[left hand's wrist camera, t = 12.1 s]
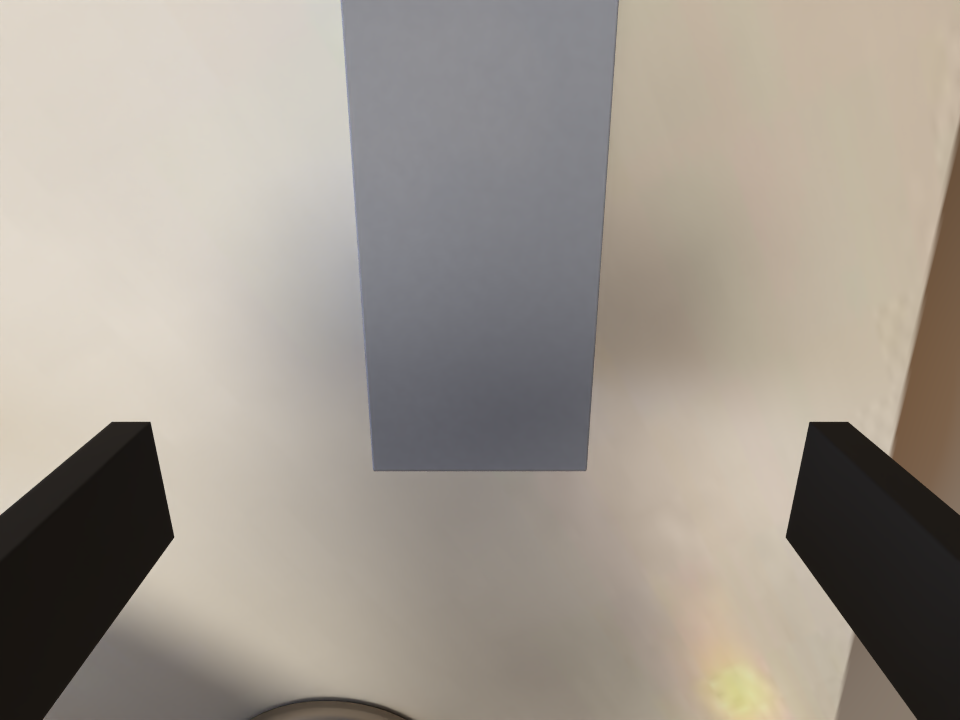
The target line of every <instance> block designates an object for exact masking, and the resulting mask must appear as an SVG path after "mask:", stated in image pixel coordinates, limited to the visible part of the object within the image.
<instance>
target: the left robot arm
mask: <svg viewBox="0 0 960 720" xmlns="http://www.w3.org/2000/svg"><path fill="white" fill-rule="evenodd" d="M173 538H174V533H173V529H172V524H171V519H170V514H169V509H168V504H167V500H166V495H165V490H164V485H163V480H162V475H161V471H160V466H159V461H158V456H157V451H156V446H155V442H154V437H153V432H152V427H151V422H111V423H110V424H109V425H108V426H107V427H105V428H104V429H103V430H102V431H101V432H99V433H98V434H97V435H96V436H95V437H93V438H92V439H91V440H90V441H89V442H87V443H86V444H85V445H84V446H83V447H81V448H80V449H79V450H78V451H77V452H75V453H74V454H73V455H72V456H71V457H69V458H68V459H67V460H66V461H65V462H63V463H62V464H61V465H60V466H59V467H57V468H56V469H55V470H54V471H53V472H52V473H50V474H49V475H48V476H47V477H46V478H44V479H43V480H42V481H41V482H40V483H38V484H37V485H36V486H35V487H34V488H32V489H31V490H30V491H29V492H28V493H26V494H25V495H24V496H23V497H22V498H20V499H19V500H18V501H17V502H16V503H14V504H13V505H12V506H11V507H10V508H8V509H7V510H6V511H5V512H4V513H2V514H1V515H0V720H43V718H44V717H45V716H46V714H47V713H48V711H49V710H50V709H51V707H52V706H53V704H54V703H55V702H56V700H57V699H58V698H59V696H60V695H61V693H62V692H63V691H64V689H65V688H66V686H67V685H68V684H69V682H70V681H71V680H72V678H73V677H74V675H75V674H76V673H77V671H78V670H79V668H80V667H81V666H82V664H83V663H84V662H85V660H86V659H87V657H88V656H89V655H90V653H91V652H92V651H93V649H94V648H95V646H96V645H97V644H98V642H99V641H100V639H101V638H102V637H103V635H104V634H105V633H106V631H107V630H108V628H109V627H110V626H111V624H112V623H113V621H114V620H115V619H116V617H117V616H118V615H119V613H120V612H121V610H122V609H123V608H124V606H125V605H126V603H127V602H128V601H129V599H130V598H131V597H132V595H133V594H134V592H135V591H136V590H137V588H138V587H139V585H140V584H141V583H142V581H143V580H144V579H145V577H146V576H147V574H148V573H149V572H150V570H151V569H152V567H153V566H154V565H155V563H156V562H157V561H158V559H159V558H160V556H161V555H162V554H163V552H164V551H165V549H166V548H167V547H168V545H169V544H170V543H171V541H172V540H173ZM786 538H787V540H788V541H789V543H790V544H791V545H792V547H793V548H794V549H795V551H796V552H797V554H798V555H799V556H800V558H801V559H802V561H803V562H804V563H805V565H806V566H807V567H808V569H809V570H810V572H811V573H812V574H813V576H814V577H815V579H816V580H817V581H818V583H819V584H820V585H821V587H822V588H823V590H824V591H825V592H826V594H827V595H828V597H829V598H830V599H831V601H832V602H833V603H834V605H835V606H836V608H837V609H838V610H839V612H840V613H841V615H842V616H843V617H844V619H845V620H846V621H847V623H848V624H849V626H850V627H851V628H852V630H853V631H854V633H855V634H856V635H857V637H858V638H859V639H860V641H861V642H862V644H863V645H864V646H865V648H866V649H867V651H868V652H869V653H870V655H871V656H872V657H873V659H874V660H875V661H876V663H877V664H878V666H879V667H880V668H881V670H882V671H883V673H884V674H885V675H886V677H887V678H888V680H889V681H890V682H891V684H892V685H893V686H894V688H895V689H896V691H897V692H898V693H899V695H900V696H901V698H902V699H903V700H904V702H905V703H906V704H907V706H908V707H909V709H910V710H911V711H912V713H913V714H914V716H915V717H916V718H917V720H960V515H959V514H958V513H956V512H955V511H954V510H953V509H952V508H950V507H949V506H948V505H947V504H946V503H944V502H943V501H942V500H941V499H940V498H938V497H937V496H936V495H935V494H934V493H932V492H931V491H930V490H929V489H928V488H926V487H925V486H924V485H923V484H922V483H920V482H919V481H918V480H917V479H916V478H914V477H913V476H912V475H911V474H910V473H908V472H907V471H906V470H905V469H904V468H902V467H901V466H900V465H899V464H898V463H896V462H895V461H894V460H893V459H892V458H891V457H889V456H888V455H887V454H886V453H885V452H883V451H882V450H881V449H880V448H879V447H877V446H876V445H875V444H874V443H873V442H871V441H870V440H869V439H868V438H867V437H865V436H864V435H863V434H862V433H861V432H859V431H858V430H857V429H856V428H855V427H853V426H852V425H851V424H850V423H849V422H809V427H808V432H807V437H806V442H805V446H804V451H803V456H802V461H801V466H800V471H799V475H798V480H797V485H796V490H795V495H794V500H793V504H792V509H791V514H790V519H789V524H788V529H787V533H786ZM250 720H406V719H403V718H401V717H399V716H397V715H395V714H392V713H390V712H387V711H385V710H381V709H378V708H375V707H371V706H367V705H362V704H357V703H350V702H341V701H310V702H302V703H295V704H290V705H286V706H282V707H279V708H275V709H272V710H269V711H267V712H265V713H262V714H260V715H258V716H256V717H254V718H252V719H250Z"/></svg>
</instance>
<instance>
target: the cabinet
mask: <svg viewBox="0 0 960 720" xmlns="http://www.w3.org/2000/svg"><path fill="white" fill-rule="evenodd" d="M618 3H619V0H341V10H342V25H343V39H344V54H345V68H346V83H347V97H348V112H349V126H350V141H351V155H352V170H353V184H354V199H355V213H356V228H357V242H358V257H359V271H360V286H361V300H362V315H363V329H364V344H365V358H366V373H367V387H368V402H369V416H370V431H371V445H372V460H373V470H374V471H586V470H587V456H588V441H589V427H590V412H591V397H592V383H593V368H594V354H595V339H596V324H597V310H598V295H599V281H600V266H601V251H602V237H603V222H604V208H605V193H606V178H607V164H608V149H609V135H610V120H611V105H612V91H613V76H614V62H615V47H616V32H617V18H618Z"/></svg>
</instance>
